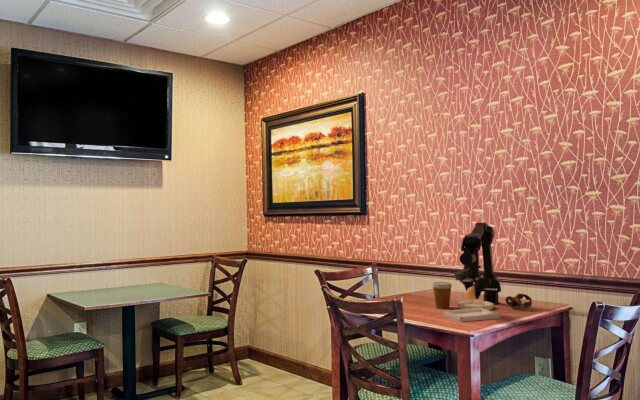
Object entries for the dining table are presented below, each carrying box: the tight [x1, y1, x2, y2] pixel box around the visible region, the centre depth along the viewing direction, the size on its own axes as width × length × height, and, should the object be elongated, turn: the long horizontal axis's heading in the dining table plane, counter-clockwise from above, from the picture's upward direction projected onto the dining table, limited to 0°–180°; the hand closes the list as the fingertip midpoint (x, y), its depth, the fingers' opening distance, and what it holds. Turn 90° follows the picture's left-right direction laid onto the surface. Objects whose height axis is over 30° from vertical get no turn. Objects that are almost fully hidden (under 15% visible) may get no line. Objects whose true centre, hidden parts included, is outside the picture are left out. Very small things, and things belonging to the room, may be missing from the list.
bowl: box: [456, 299, 495, 311], centre depth 265 cm, size 16×16×2 cm
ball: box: [465, 286, 477, 301], centre depth 246 cm, size 6×6×6 cm
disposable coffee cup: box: [432, 281, 453, 309], centre depth 267 cm, size 10×10×12 cm
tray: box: [442, 308, 502, 323], centre depth 243 cm, size 20×15×2 cm
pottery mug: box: [504, 293, 533, 312], centre depth 260 cm, size 12×10×8 cm
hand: (473, 297), depth 246 cm, fingers closed on ball, 6 cm apart
